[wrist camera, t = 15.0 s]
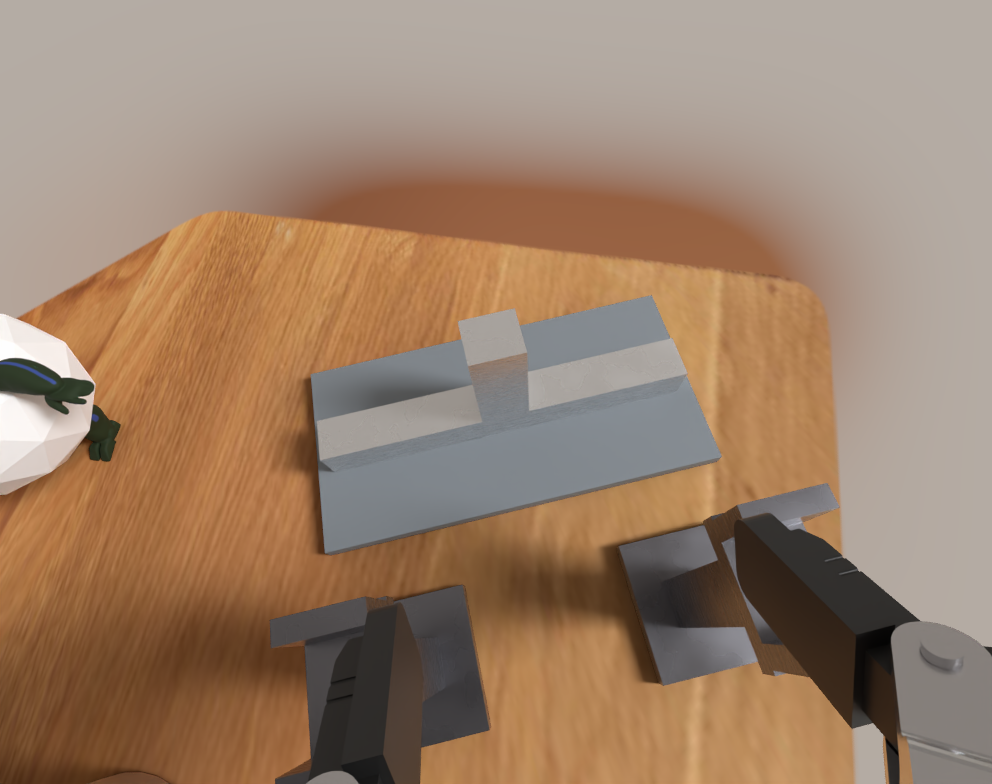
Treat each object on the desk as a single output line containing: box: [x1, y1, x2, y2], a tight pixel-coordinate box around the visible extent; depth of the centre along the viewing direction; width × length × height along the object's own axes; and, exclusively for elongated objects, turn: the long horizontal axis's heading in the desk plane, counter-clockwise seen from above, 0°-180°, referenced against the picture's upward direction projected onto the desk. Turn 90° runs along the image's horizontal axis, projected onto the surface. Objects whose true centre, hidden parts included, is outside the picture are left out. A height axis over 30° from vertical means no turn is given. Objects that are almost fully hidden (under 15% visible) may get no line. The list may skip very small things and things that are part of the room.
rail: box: [317, 308, 688, 472], centre depth 29 cm, size 22×2×10 cm, turn 103°
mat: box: [311, 295, 722, 555], centre depth 33 cm, size 24×12×1 cm, turn 103°
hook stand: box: [270, 483, 840, 784], centre depth 22 cm, size 21×7×14 cm, turn 103°
